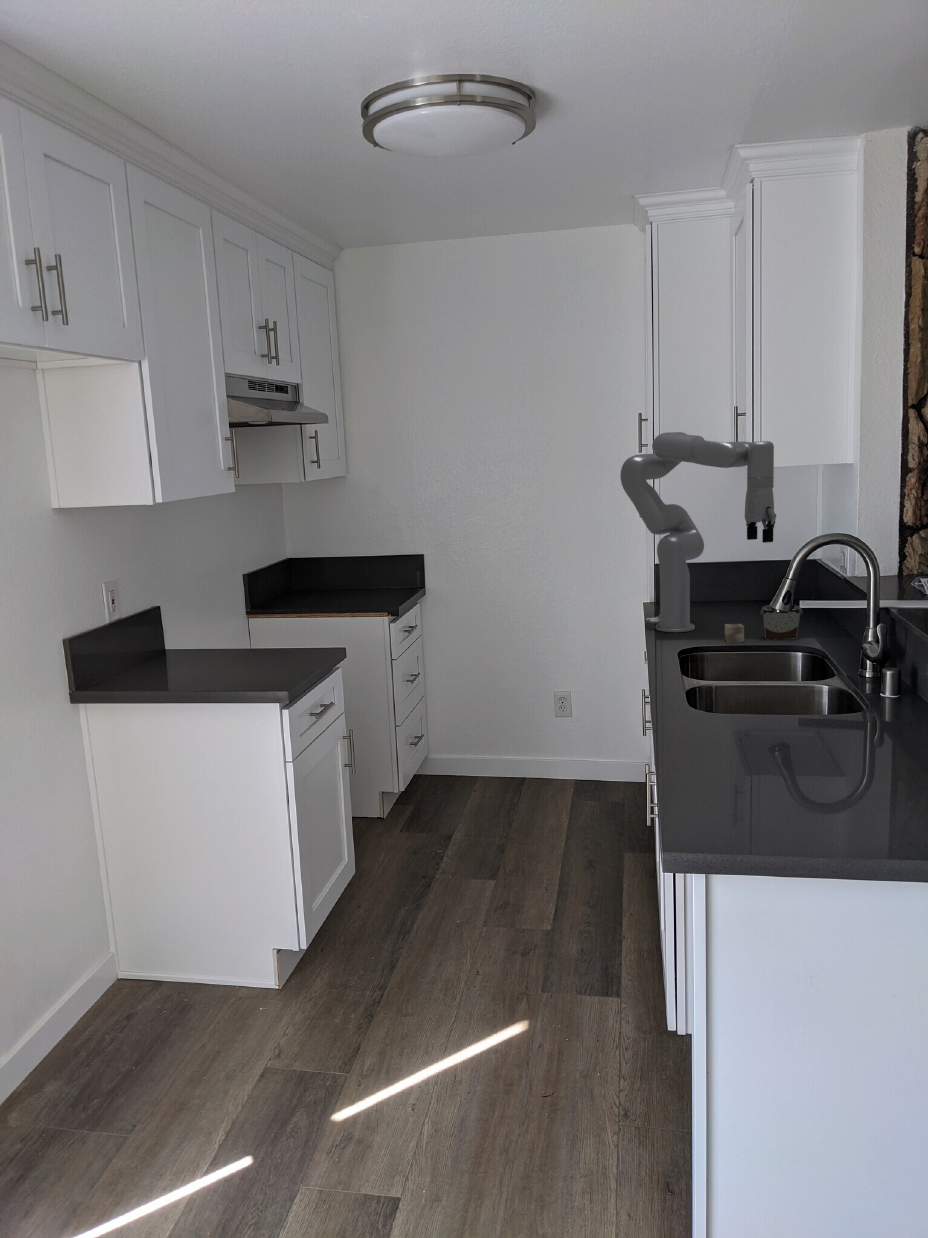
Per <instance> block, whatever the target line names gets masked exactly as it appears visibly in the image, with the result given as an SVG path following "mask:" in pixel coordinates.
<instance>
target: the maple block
mask: <svg viewBox="0 0 928 1238" xmlns="http://www.w3.org/2000/svg"><path fill="white" fill-rule="evenodd" d="M724 640H726V641H727V642H736V641H737V642H738V641H744V642H745V627H744V625H743V624H742V623H725V624H724ZM726 641H725V642H726ZM727 642H726V643H727Z"/></svg>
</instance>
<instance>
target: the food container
mask: <svg viewBox="0 0 928 1238" xmlns="http://www.w3.org/2000/svg"><path fill="white" fill-rule="evenodd" d="M771 605H772V604H770V605H769V604H768V605H765V606H762V609H760V615H762V621H763V623H762V624H763V634H764V640H765V639H788V638H789V639H791V638H797V639H798V632H799V626H800V625H799V624H800V618H801V615H803V609H802V607H801V606H798V605H794V606H795V607H794V609H792V610H791V612H788V613H776V612H774V610H772V609H771Z"/></svg>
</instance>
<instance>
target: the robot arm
mask: <svg viewBox="0 0 928 1238" xmlns="http://www.w3.org/2000/svg"><path fill="white" fill-rule="evenodd" d="M651 445H652V446H651V447H652V452H653V453H643V454H640V453H639V454H635V455H631V456H630V457H628V458H627V459H626V460H625V461H624V462H623V464H622V466H621V469H620V475H619V477H620V483H621V486H622V489H623V491H624V492H625V494H626V495H627V497H628V498H629V499H630V501H631V502H632V504H633V506H634V507H635V509H636V511H637V512H638V515H639V516H640V517H641V520H642V521H643V523H644V525H645V527H646V528H647V529H648V531H649V532H650V533H651V534H653V535H659V536H660V535H664V536H663V537H662V538H661V539H660V540H659V541H658V542H657V543H658V544H657V546H656V547H657V548H656V555H657V559H658V565H659V585H660V586H659V587H660V588H659V591H660V593H659V603H660V606H659V607H660V609H659V614H658V616H657V615H656V616H655V617H652V616H647V617H645V622H646V623H645V624H651V625H652V624H653V625H654V624H656V625H655V629H656V631H660V632H666V633H686V632H690V631H691V632H692V631H693V630H695V629H696V628H695V627H696V626H695V624H693V623H692V622H691V619H690V618H691V614H690V613H691V612H690V611H691V606H690V605H691V603H690V602H691V601H690V600H691V599H690V598H691V596H690V595H691V593H690V592H691V588H690V587H691V585H690V584H691V582H690V581H691V578H690V577H691V575H690V569H689V567H688V563H687V561H691V560H695V559H698V558H699V557H700V556H701V555H702V554H703V553H704V549H705V543H704V539H703V537H702V534H701V533H700V530H698V528H697V526H696V524H695V522H694V520H692V517H691V516H690V514H689V513H688V511H687V510H686V509H685V508H684V507H682V506H681V505H679V504H676V503H671V504H669V503H668V504H666V503H665V502H664V501H663V500H662V499H661V497H660V495H659V494H658V492H657V490H656V489H655V488H654V487H653V486H651V484H650V483H649V482H647V481H648V480H658V479H662V478H664V477H666V476H667V475H668V474H669V473H670V472H672V471H673V470H674V469H675V468H676V467H677V466H679V465H680V464H681V463H682V462H685V463H690V464H696V465H700V466H707V467H715V468H723V469H728V468H730V469H731V468H741V467H746V469H747V470H746V479H747V480H746V493H745V503H744V519H745V522H746V523H745V525H746V540H747V541H751V540H754V541H755V540H757V539H758V525H757V524H758V523H760V522H761V525H762V526H763V528H762V537H761V538H762V541H761V542H762V543H764V544H766V543H774V529H775V524H776V518H777V514H776V512H775V499H774V497H775V496H774V490H773V489H774V484H775V483H774V482H775V481H774V476H775V475H774V474H775V473H774V470H775V469H774V468H775V465H774V463H775V459H774V458H775V456H774V455H775V451H774V450H775V445H774V443H773V442H772V441H770V440H769V441H768V440H767V441H766V440H765V441H764V440H763V441H751V442H750V441H729V442H728V441H727V442H725V441H712V440H706V439H704V437H703V436H701V435H695V434H694V435H693V434H687V433H686V432H682V431H676V432H675V431H673V432H671V431H670V432H662V433H660V434H658V435H657V436H655V437H654V438H653V442H652V444H651ZM690 622H691V623H690Z"/></svg>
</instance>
